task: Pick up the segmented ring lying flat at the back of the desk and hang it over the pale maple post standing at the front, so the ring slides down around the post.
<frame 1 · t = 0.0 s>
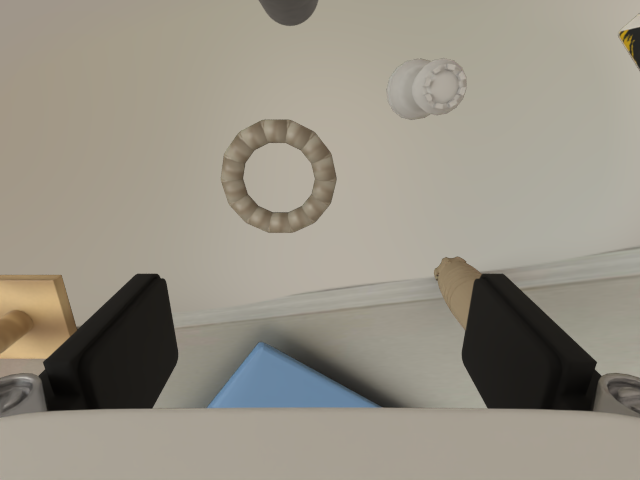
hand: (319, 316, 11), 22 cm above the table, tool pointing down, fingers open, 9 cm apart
segmented ring: (278, 179, 31), point 1 cm above the table
post: (28, 314, 37), on the table
handle: (449, 269, 35), on the table
rook chess piece: (412, 90, 29), on the table
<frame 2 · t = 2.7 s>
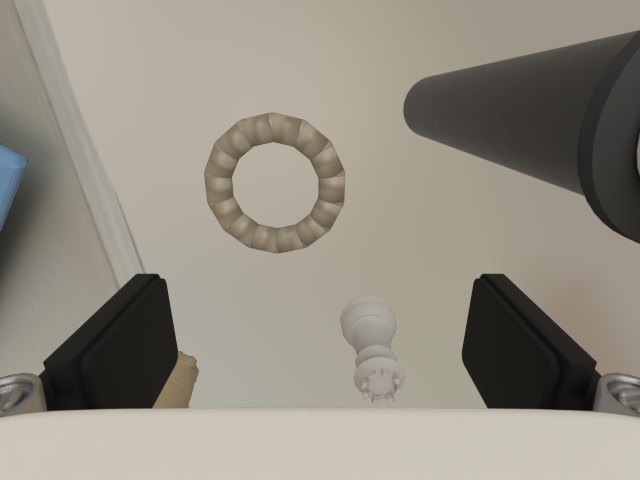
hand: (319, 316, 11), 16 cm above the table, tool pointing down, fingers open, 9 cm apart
segmented ring: (275, 187, 25), point 1 cm above the table
handle: (182, 362, 32), on the table
rook chess piece: (366, 315, 30), on the table
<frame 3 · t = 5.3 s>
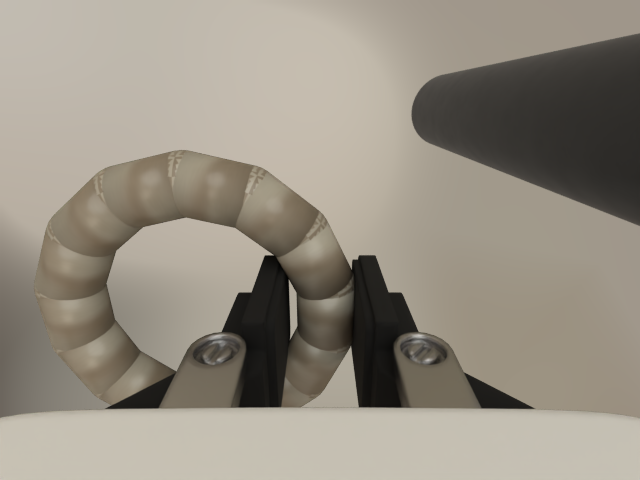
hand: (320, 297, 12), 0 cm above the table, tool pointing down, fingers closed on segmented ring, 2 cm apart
segmented ring: (201, 309, 11), point 1 cm above the table, touching gripper
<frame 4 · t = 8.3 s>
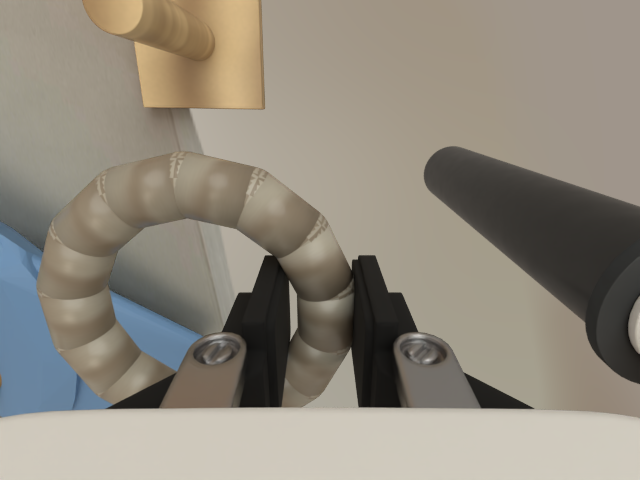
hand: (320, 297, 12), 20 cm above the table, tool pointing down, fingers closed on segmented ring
segmented ring: (202, 309, 11), point 20 cm above the table, touching gripper
post: (202, 43, 27), on the table
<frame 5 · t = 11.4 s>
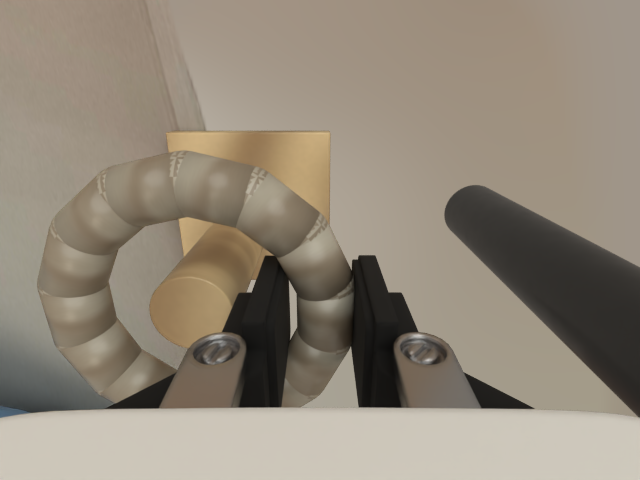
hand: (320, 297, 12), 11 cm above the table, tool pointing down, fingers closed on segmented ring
segmented ring: (202, 308, 11), point 12 cm above the table, touching gripper
post: (256, 206, 22), on the table
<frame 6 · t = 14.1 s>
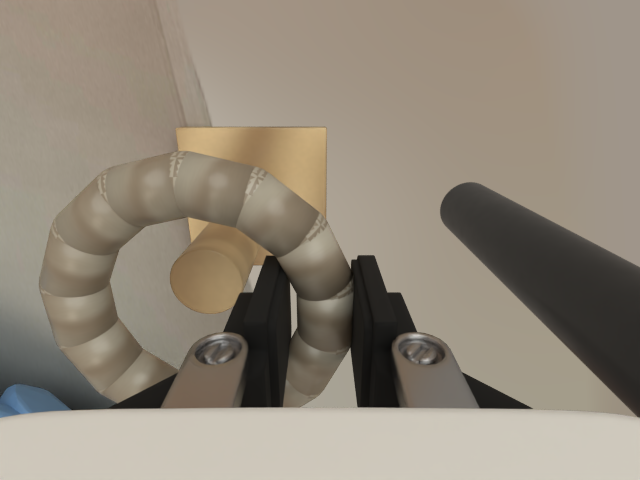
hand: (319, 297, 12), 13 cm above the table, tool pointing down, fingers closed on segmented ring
segmented ring: (202, 308, 12), point 14 cm above the table, touching gripper
post: (258, 197, 24), on the table
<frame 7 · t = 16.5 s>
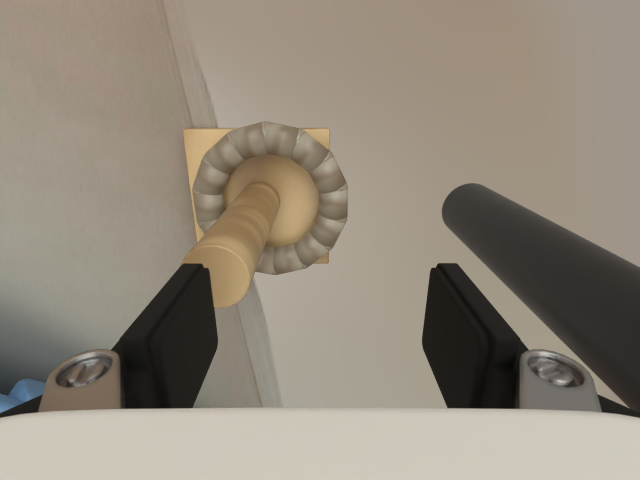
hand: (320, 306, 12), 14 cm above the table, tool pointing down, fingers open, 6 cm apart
segmented ring: (271, 203, 23), point 2 cm above the table, touching post
post: (262, 196, 25), on the table
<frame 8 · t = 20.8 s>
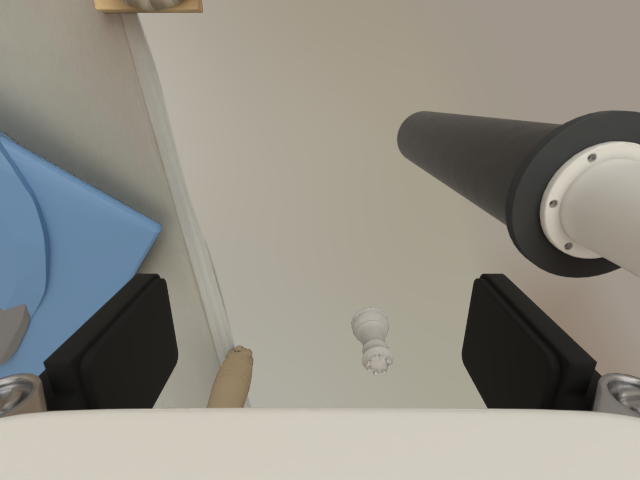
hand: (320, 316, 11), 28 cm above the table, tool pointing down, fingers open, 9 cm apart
handle: (241, 353, 46), on the table
rook chess piece: (368, 320, 44), on the table
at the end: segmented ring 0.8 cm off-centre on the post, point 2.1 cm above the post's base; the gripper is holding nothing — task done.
